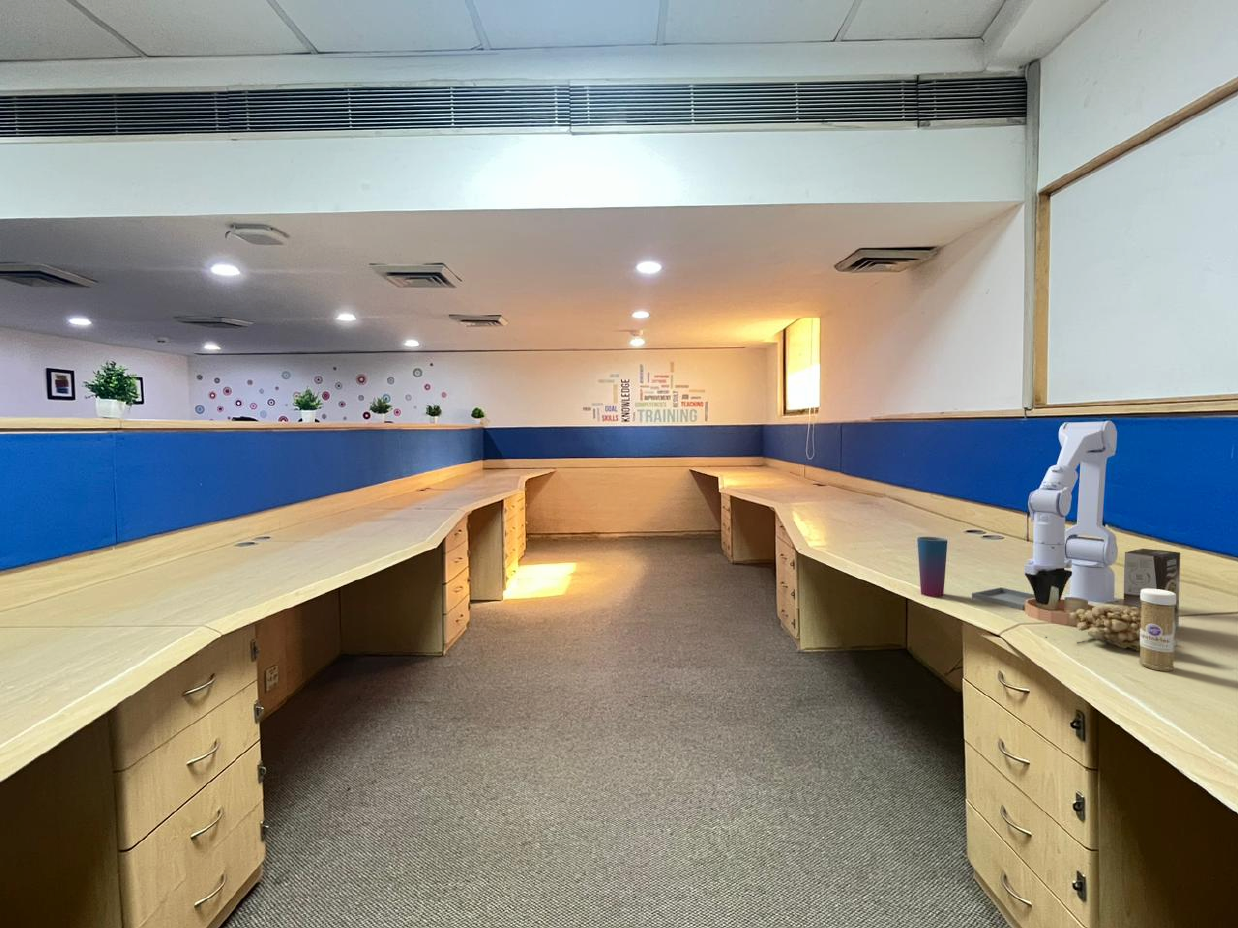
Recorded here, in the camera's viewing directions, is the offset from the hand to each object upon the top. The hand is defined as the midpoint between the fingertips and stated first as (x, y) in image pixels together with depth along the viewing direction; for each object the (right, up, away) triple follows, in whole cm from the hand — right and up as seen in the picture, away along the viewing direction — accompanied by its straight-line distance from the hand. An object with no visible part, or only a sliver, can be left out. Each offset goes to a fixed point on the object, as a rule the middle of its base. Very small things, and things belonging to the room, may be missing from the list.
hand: (1048, 602), depth 129 cm
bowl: (+1, -3, -2) cm, 4 cm away
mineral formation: (0, -4, -18) cm, 18 cm away
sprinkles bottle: (-3, -5, -29) cm, 30 cm away
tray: (-1, -3, +11) cm, 11 cm away
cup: (-17, -3, +17) cm, 24 cm away
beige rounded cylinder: (+2, -3, -5) cm, 6 cm away
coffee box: (+15, -3, -9) cm, 18 cm away
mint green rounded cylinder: (0, -1, 0) cm, 1 cm away
